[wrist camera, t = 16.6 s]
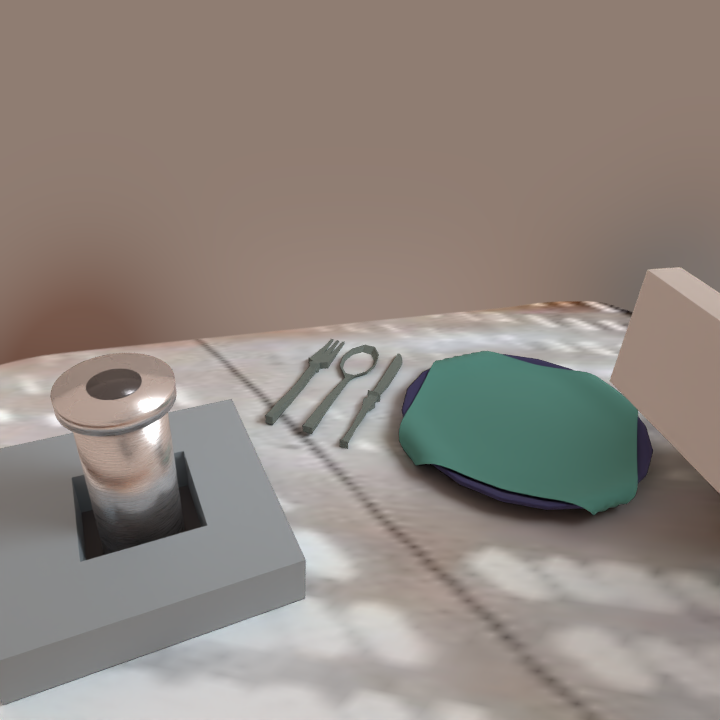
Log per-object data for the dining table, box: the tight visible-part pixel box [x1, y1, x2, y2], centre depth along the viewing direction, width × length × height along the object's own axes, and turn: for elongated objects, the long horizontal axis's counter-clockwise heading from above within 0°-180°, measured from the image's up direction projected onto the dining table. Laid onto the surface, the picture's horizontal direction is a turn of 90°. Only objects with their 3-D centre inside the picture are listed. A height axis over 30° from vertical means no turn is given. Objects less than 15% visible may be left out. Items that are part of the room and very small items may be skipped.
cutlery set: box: [265, 339, 653, 515], centre depth 52 cm, size 20×30×2 cm, turn 69°
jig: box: [0, 399, 306, 705], centre depth 39 cm, size 16×16×4 cm
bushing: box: [51, 353, 185, 555], centre depth 36 cm, size 6×6×12 cm
